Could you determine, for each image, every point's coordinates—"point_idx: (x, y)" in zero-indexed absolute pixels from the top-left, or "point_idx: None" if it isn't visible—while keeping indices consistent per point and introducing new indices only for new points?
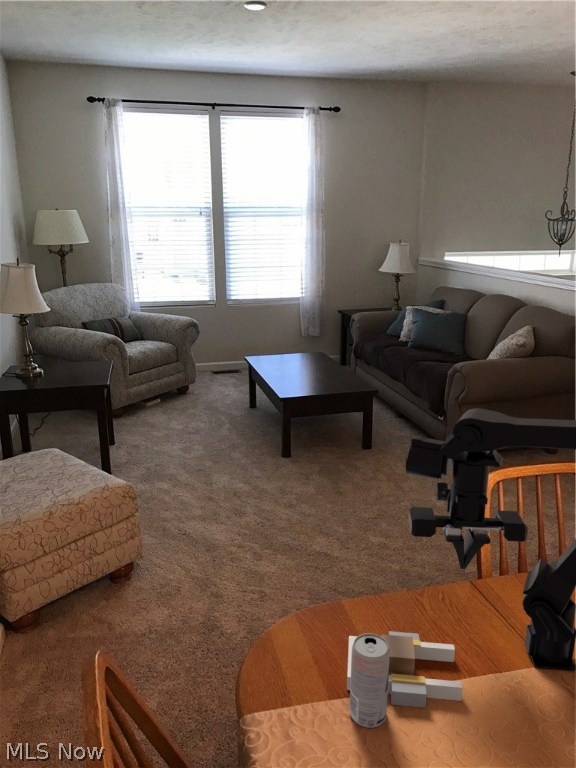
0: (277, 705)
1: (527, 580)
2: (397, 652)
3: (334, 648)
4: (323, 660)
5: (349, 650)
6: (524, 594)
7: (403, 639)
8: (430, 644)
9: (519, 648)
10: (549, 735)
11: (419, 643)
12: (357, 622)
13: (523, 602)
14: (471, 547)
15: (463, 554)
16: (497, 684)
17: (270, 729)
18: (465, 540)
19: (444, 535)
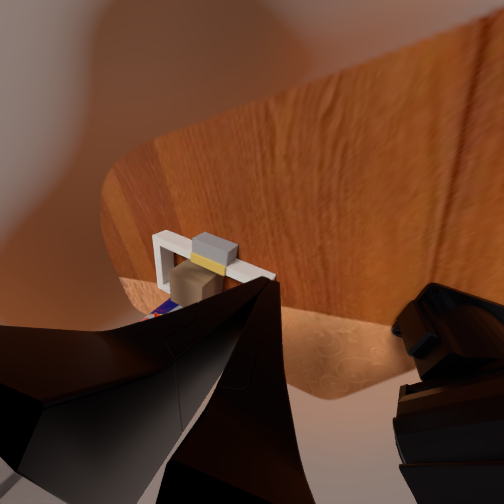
0: (131, 276)
1: (491, 484)
2: (184, 302)
3: (154, 227)
4: (148, 241)
5: (155, 257)
6: (429, 431)
7: (191, 287)
8: (238, 274)
9: (400, 291)
10: (328, 384)
11: (223, 272)
12: (171, 183)
13: (394, 431)
14: (203, 483)
15: (211, 384)
16: (312, 326)
17: (133, 292)
18: (222, 373)
19: (30, 417)
